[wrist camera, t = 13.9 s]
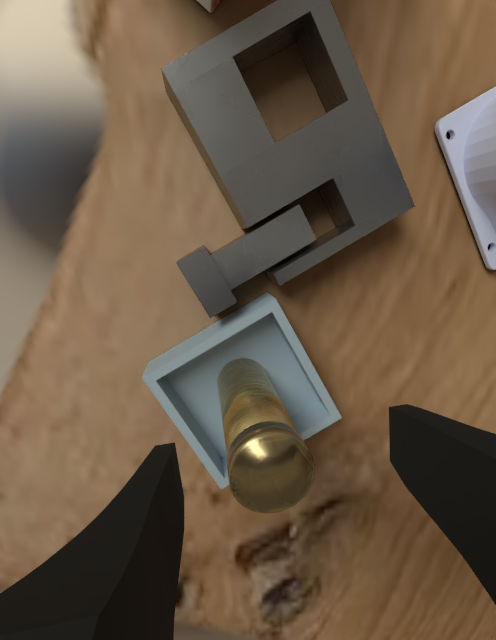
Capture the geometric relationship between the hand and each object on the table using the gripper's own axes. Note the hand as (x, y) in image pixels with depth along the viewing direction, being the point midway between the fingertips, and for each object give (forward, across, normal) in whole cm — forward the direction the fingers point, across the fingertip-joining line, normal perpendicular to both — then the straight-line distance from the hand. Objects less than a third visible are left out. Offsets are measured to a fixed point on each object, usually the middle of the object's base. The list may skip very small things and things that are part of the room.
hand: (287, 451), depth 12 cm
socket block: (+10, -3, -11) cm, 15 cm away
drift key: (+10, -1, -6) cm, 12 cm away
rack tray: (+10, 0, +2) cm, 10 cm away
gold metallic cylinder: (+10, 0, +2) cm, 10 cm away
